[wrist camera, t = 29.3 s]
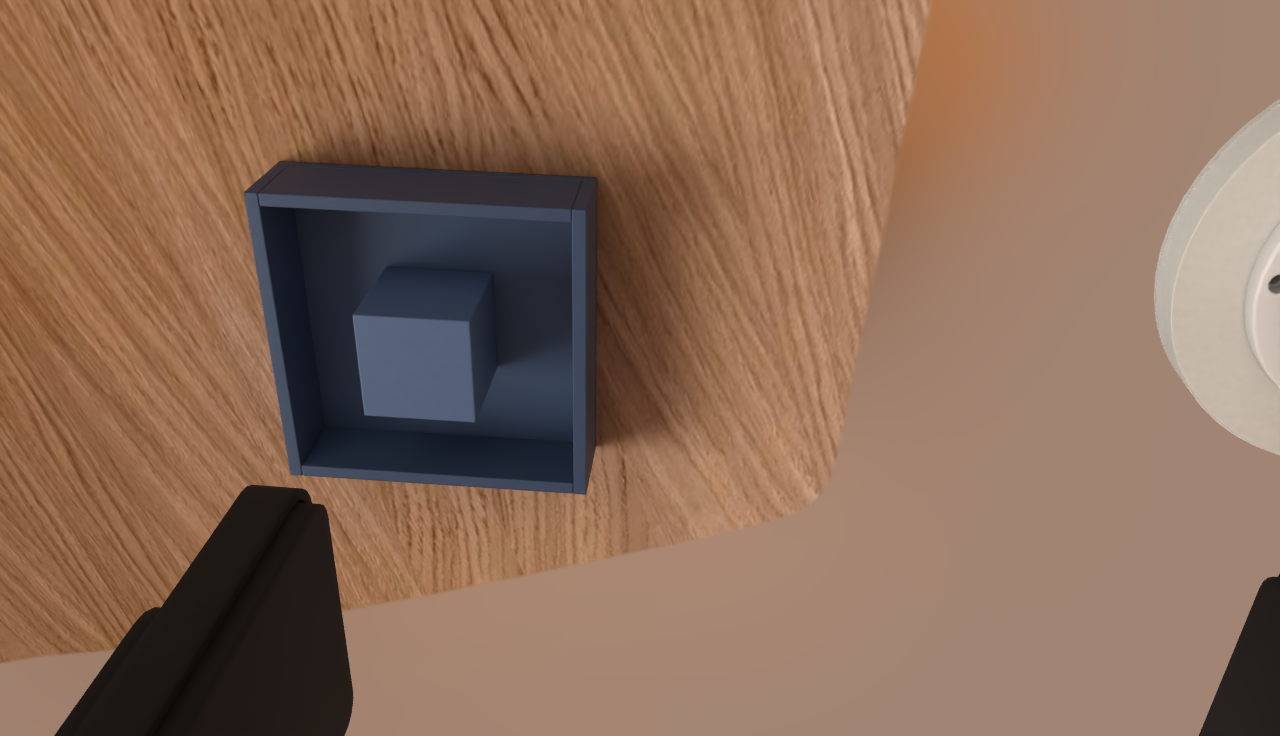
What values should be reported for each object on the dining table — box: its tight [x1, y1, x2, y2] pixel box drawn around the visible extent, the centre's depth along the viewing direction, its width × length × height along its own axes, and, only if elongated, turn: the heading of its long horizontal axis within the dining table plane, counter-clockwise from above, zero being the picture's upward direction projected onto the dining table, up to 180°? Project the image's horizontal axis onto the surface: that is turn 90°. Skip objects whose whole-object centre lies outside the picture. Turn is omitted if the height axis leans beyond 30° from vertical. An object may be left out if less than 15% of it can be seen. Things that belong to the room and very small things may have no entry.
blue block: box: [353, 267, 497, 422], centre depth 48 cm, size 5×5×5 cm
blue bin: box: [244, 161, 597, 494], centre depth 49 cm, size 14×14×4 cm
